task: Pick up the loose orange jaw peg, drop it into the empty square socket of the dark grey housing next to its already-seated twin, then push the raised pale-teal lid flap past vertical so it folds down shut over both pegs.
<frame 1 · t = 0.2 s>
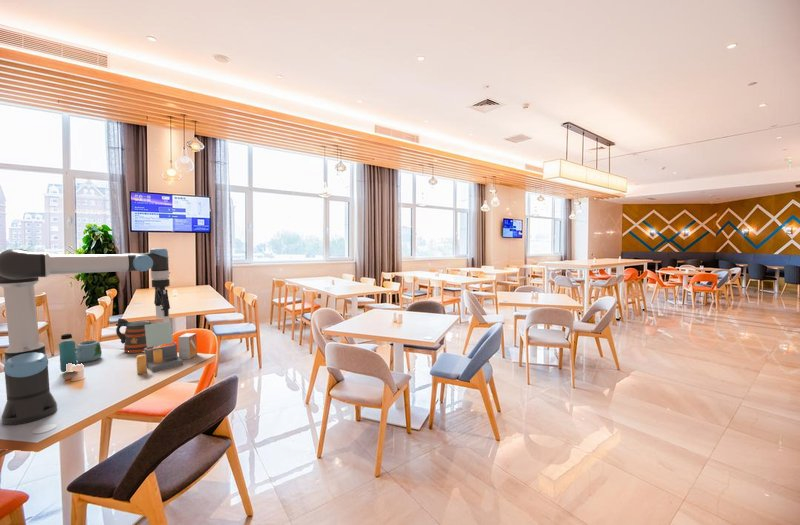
hand: (162, 320, 183), 27 cm above the table, fingers open, 13 cm apart
beverage bottle: (69, 373, 184), on the table
housing: (165, 365, 195), on the table
lid: (159, 334, 200), point 15 cm above the table, hinge at 105.0°
jaw peg: (142, 372, 184), on the table
small box: (188, 357, 208), on the table
mug: (86, 361, 201), on the table
beer stein: (135, 350, 220), on the table
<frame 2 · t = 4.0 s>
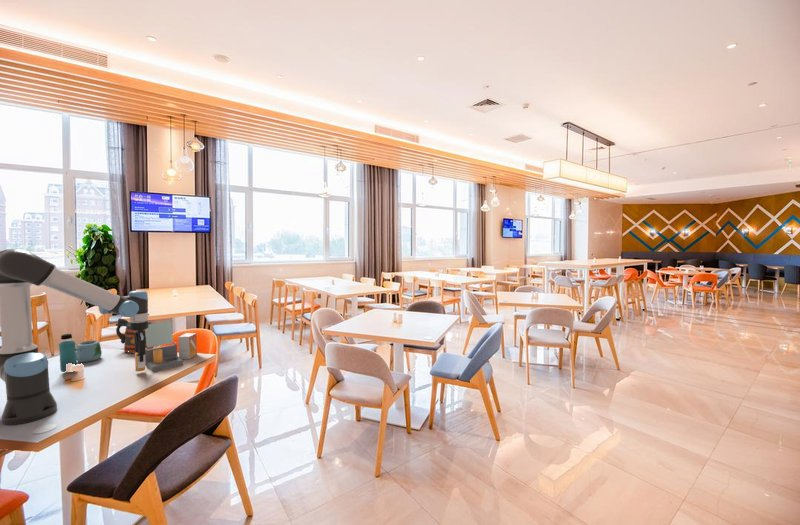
hand: (140, 366, 183), 3 cm above the table, fingers closed on jaw peg, 3 cm apart
jaw peg: (140, 370, 183), point 2 cm above the table, touching gripper
everything else where it was.
when the fingers open (3 cm above the table, at t = 9.1 s): jaw peg drops 1 cm, resting in housing.
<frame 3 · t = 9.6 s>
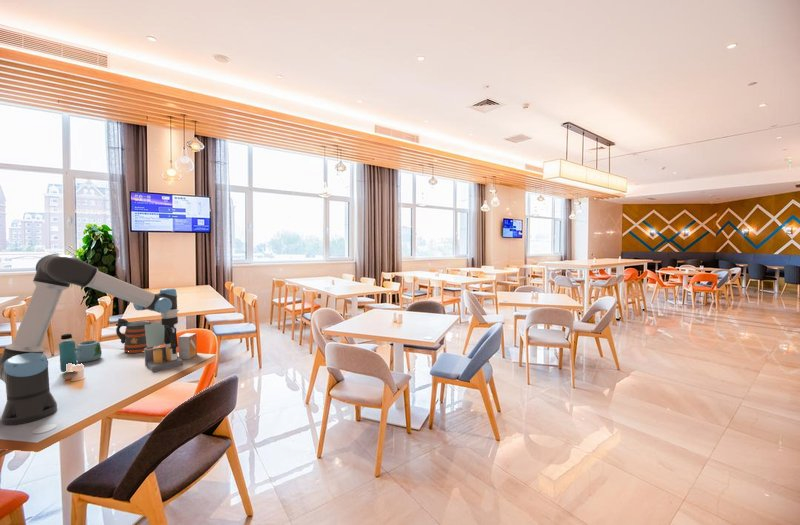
hand: (171, 357, 196), 4 cm above the table, fingers open, 10 cm apart
jaw peg: (171, 363, 197), resting in housing
everything else where it was.
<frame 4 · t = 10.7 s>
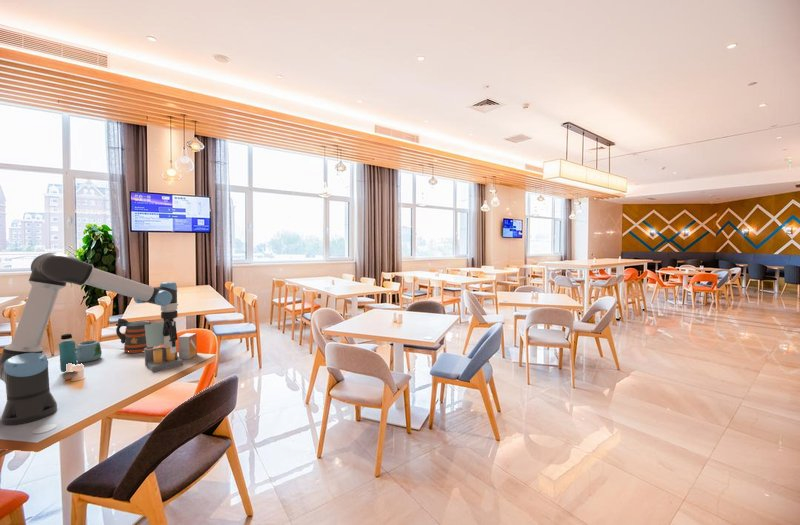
hand: (170, 350, 195), 8 cm above the table, fingers open, 12 cm apart
lid: (159, 334, 200), point 15 cm above the table, hinge at 105.2°, touching gripper
everything else where it was.
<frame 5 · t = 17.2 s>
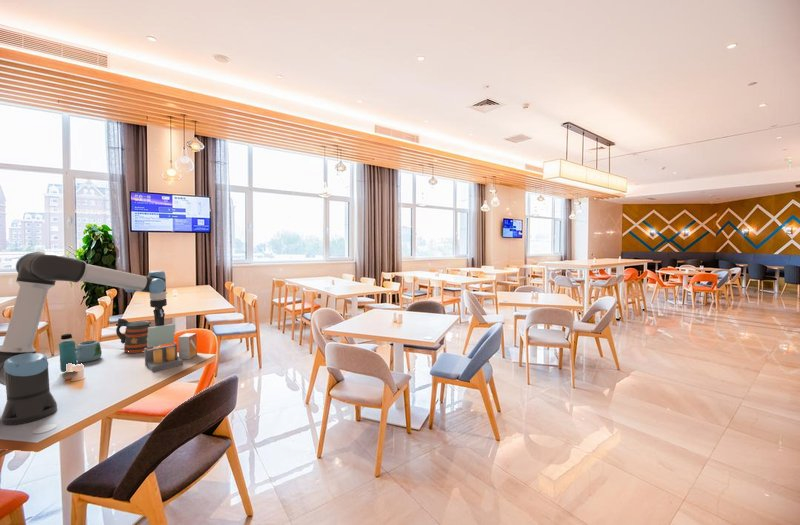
hand: (160, 341, 199), 12 cm above the table, fingers closed
lid: (161, 335, 197), point 15 cm above the table, hinge at 67.9°, touching gripper
everything else where it was.
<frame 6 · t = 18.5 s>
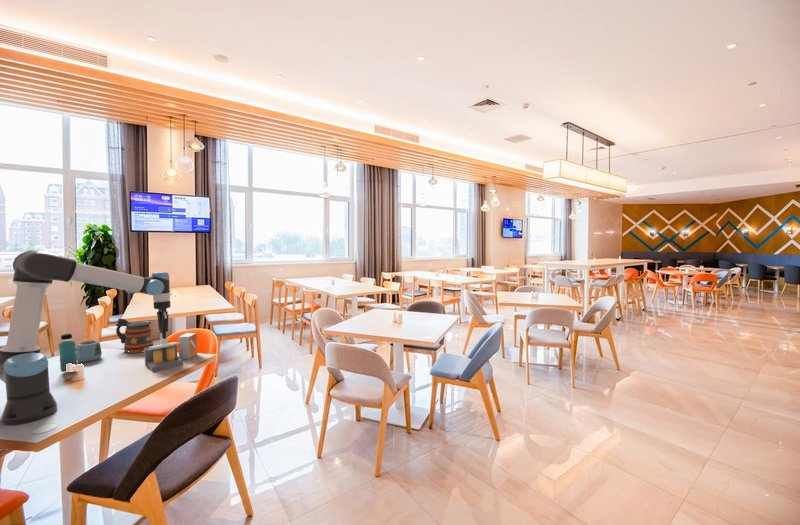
hand: (164, 343, 193), 12 cm above the table, fingers closed
lid: (163, 345, 194), point 11 cm above the table, hinge at 11.8°, touching gripper
everything else where it was.
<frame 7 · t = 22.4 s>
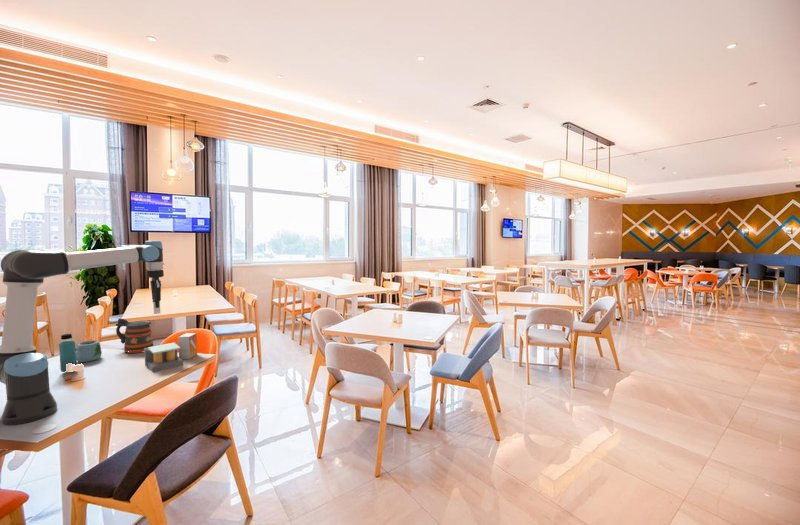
hand: (157, 313, 193), 28 cm above the table, fingers closed
lid: (164, 348, 194), point 9 cm above the table, hinge at 0.0°
everything else where it was.
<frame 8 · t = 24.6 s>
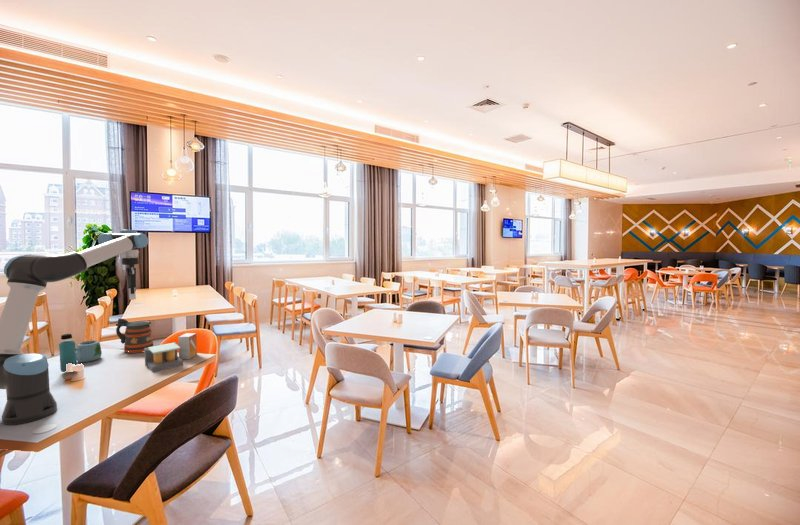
hand: (132, 299, 202), 34 cm above the table, fingers closed
nothing on the table moved.
at the end: jaw peg 0.1 cm from the target spot on the housing, point 0.0 cm above the housing's base; jaw peg tilted 0°; lid at +0° (first picture: +105°) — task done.
